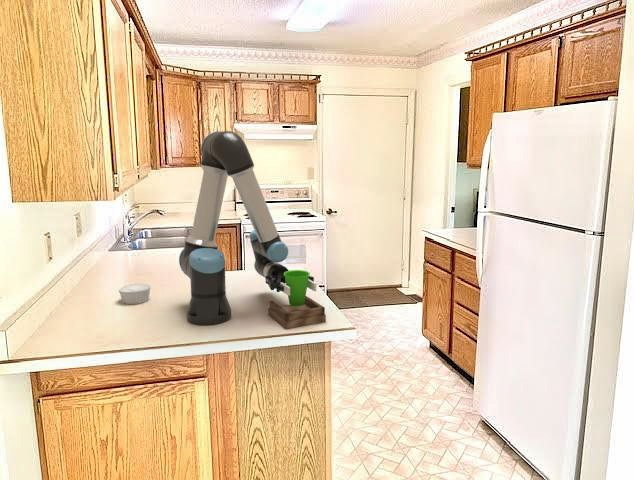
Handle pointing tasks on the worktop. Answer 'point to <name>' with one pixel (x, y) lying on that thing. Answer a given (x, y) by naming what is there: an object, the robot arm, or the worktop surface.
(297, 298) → the cup
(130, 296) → the ramekin
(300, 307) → the wooden tray
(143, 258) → the worktop surface
